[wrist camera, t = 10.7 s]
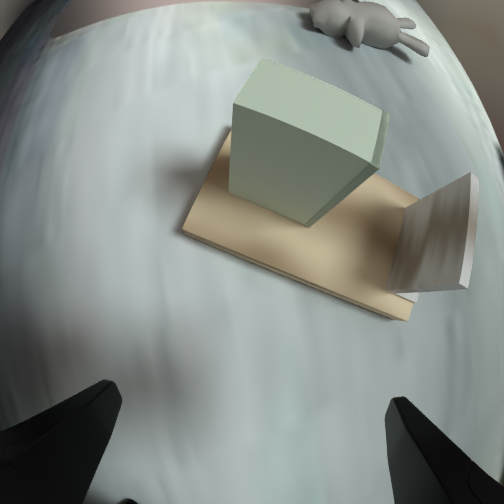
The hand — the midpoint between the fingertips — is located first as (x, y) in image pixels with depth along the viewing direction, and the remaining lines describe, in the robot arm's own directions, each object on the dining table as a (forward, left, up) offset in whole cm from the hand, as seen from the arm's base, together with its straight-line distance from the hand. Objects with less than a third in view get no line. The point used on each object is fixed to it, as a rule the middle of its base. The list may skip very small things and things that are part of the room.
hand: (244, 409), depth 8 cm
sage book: (+10, +5, -10) cm, 15 cm away
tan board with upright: (+11, +1, -12) cm, 17 cm away
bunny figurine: (+36, +12, -13) cm, 40 cm away
